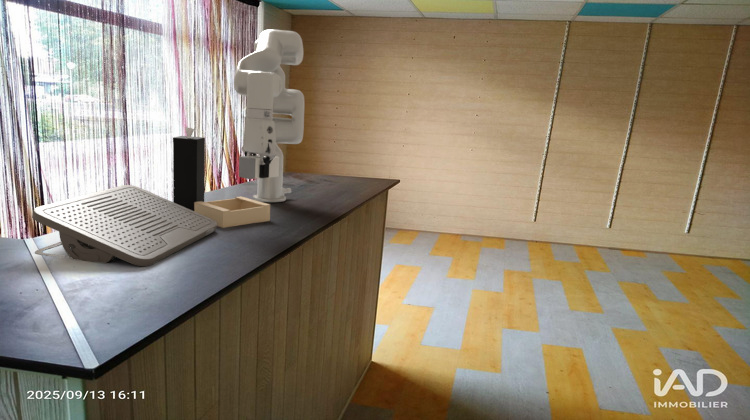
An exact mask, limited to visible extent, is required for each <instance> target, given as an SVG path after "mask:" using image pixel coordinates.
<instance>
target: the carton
mask: <svg viewBox="0 0 750 420" xmlns="http://www.w3.org/2000/svg"><path fill="white" fill-rule="evenodd" d="M194 212H197V213H199V214H201V215H204V216H206V217H208V218H210V219H212V220H214V221H216V222H217V227H220V228H223V229H224V228H231V227H236V226H244V225H249V224H256V223H264V222H265V223H266V222H270V220H271V203H267V202H261V201H257V200H254V199H253V198H252V199H251V198H250V197H249V198H248V197H244V196H236V197H235V198H228V199H219V200H209V201H204V202H202V201H200V202H194Z"/></svg>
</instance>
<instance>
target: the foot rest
mask: <svg viewBox="0 0 750 420" xmlns="http://www.w3.org/2000/svg"><path fill="white" fill-rule="evenodd" d="M31 218H32V219H33V220H34V221H35V222H37V223H39V224H41V225H44V226H46V227H48V228H50V229H53V230H55V231H57V232H59V234H58V235H59V239H60V240H59V241H58V242H55V243H52V244H50V245H47V246H44V247H41V248H39V249H37V250H35V251H34V254H36V255H40V256H45V257H55V258H71V259H72V260H75V261H76V260H78V261H83V262H91V263H102V264H107V263H109V262H112V261H113V260H114V259H116V258H117V259H120V260H122V261H124V262H127V263H130V264H131V265H134V266H138V267H148V266H152V265H154V264H156V263H157V262H159V261H161V260H163V259H165V258H168V257H169V256H171V255H172V254H174V253H176V252H178V251H180V250H182V249H185V248H186V247H188V246H189V245H192V244H194V243H196V242H197V241H199V240H201V239H203V238H204V237H207V236H208V235H210V234H212V233H214V232H216V230H217V228H218V226H217V222H216V221H214V220H212V219H210V218H208V217H206V216H204V215H201V214H199V213H197V212H194V211H192V210H190V209H187V208H185V207H183V206H181V205H178V204H176V203H174V202H173V201H172V200H169V199H167V198H164V197H162V196H160V195H157V194H155V193H153V192H150V191H148V190H146V189H144V188H141V187H139V186H136V185H131V184H123V185H120V186H116V187H112V188H111V187H110V188H106V189H104V190H99V191H95V192H92V193H87V194H84V195H83V194H82V195H79V196H75V197H72V198H67V199H64V200H59V201H56V202H53V203H52V202H51V203H48V204H44V205H39V206H37V207H35V208H34V209H33V212H32V216H31ZM59 246H62V248H63V250H64V251H65V252H66V254H67V255H62V254H57V253H56V254H55V253H46V252H44V251H47V250H50V249H53V248H56V247H59Z"/></svg>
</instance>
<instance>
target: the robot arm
mask: <svg viewBox="0 0 750 420" xmlns="http://www.w3.org/2000/svg"><path fill="white" fill-rule="evenodd" d="M303 44H304V43H303V39H302V36H301V35H300V34H299V33H298V32H296V31H293V30H285V29H283V30H282V29H270V28H269V29H265V30H263V31H262V32H260V34H259V36H258V39H256V40H255V41H254V44H253V49H254V50H253V51H254V52H252V53H250V54H248V55H246V56H244V57H243V58H242V59H240V61H238V63H237V65H236V69H235V73H234V78H233V87H234V91H236V94H238V95H241V96H245V97H246V116H245V117H246V118H245V122H244V128H243V129H244V130H243V145H242V147H241V151H242V153H243V154H244V155H243V156H257V155H260V159H261V164H262V165H260V170H259V178H258V179H257V183H256V185H257V187H256V188H257V190H256V191H257V193H256V194H253V195H252V200H256V201H259V202H263V203H281V202H286V200H287V196H286V194H291V193H292V188H290V187H289V188H285V187H283V183H284V181H283V180H284V178H283V176H284V153H283V150H282V149H281V148H280V147H279V145H278V144H286V145H298V144H300V143H302V142H303V138H304V130H305V95H304V93H303V92H302V91H301V90H300V89H293V88H286V74H285V71H284V70H283V68H282V67H281V65H287V66H288V65H289V66H290V65H291V66H299V65H300V64H301V63H302V62H303V60H304V45H303ZM274 115H288V116H291V118H286V117H285V118H284V117H274ZM264 156H266V158H265V159H264ZM275 156H276V157H279V177H269V165H270V164H271V161H272V160H273V158H274V157H275ZM268 177H269V178H268Z"/></svg>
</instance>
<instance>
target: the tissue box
mask: <svg viewBox="0 0 750 420" xmlns="http://www.w3.org/2000/svg"><path fill="white" fill-rule="evenodd" d="M184 129H185V133H186V135H178V136H174V137H172V151H173V152H172V153H173V154H172V156H173V157H172V159H173V160H172V162H173V163H172V164H173V165H172V167H173V168H172V173H173V174H172V175H173V176H172V177H173V179H172V181H173V182H172V183H173V184H172V185H173V186H172V187H173V189H172V190H173V199H172V200H173V201H172V202H174V203H176V204H178V205H181V206H183V207H185V208H187V209H190V210H192V211H194V202H200V201H202V202H205V165H206V164H205V162H206V160H205V159H206V158H205V155H206V154H205V153H206V152H205V151H206V149H205V147H206V146H205V145H206V137H204V136H203V137H201V136H200V137H199V136H192V135H193V134H194V131H195V128H192V127H186V126H185V127H184Z"/></svg>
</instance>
